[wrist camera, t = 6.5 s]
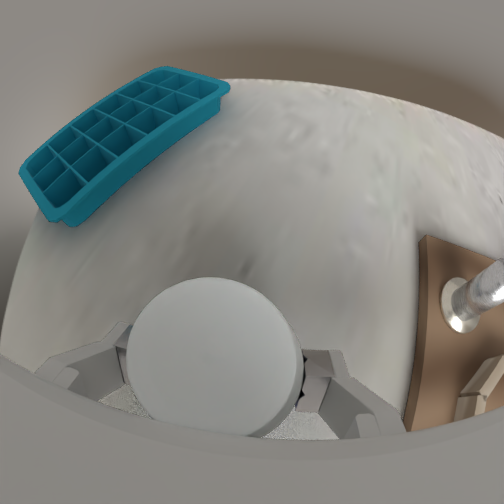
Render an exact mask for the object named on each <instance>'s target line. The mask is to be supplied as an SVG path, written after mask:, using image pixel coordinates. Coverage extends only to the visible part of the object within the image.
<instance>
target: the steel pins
mask: <svg viewBox="0 0 504 504" xmlns="http://www.w3.org/2000/svg"><path fill="white" fill-rule="evenodd" d="M503 302H504V259H503V258H500V259H498V260H497V261H496V262H494V263H493V264H492V265H490V266H489V267H488V268H486V269H485V270H483V271H482V272H481V273H479V274H478V275H476V276H475V277H474V278H472V279H471V280H469V281H467V280H465V279H463V278H459V277H456V278H452V279H451V280H449V281H448V282H447V283H445V285H444V286H443V288H442V290H441V293H440V298H439V305H440V311H441V315H442V317H443V320H444V322H445V323H446V325H447V326H448V327H449V328H450V329H451V330H452V331H453V332H455V333H457V334H466V333H468V332H471V331H472V330H473V329H475V327H476V326H477V324H478V322H479V319H480V314H482V313H484V312H486V311H488V310H490V309H492V308H494V307H496V306H497V305H499V304H501V303H503Z"/></svg>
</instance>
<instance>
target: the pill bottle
mask: <svg viewBox="0 0 504 504" xmlns="http://www.w3.org/2000/svg"><path fill="white" fill-rule="evenodd" d="M126 364H127V373H128V378H129V382H130V385H131V388H132V390H133V392H134V394H135V396H136V398H137V400H138V402H139V403H140V405H141V406H142V408H143V409H144V410H145V411H146V413H147V414H148V415H149V416H150V417H151V418H152V419H154V420H158V421H162V422H166V423H170V424H174V425H179V426H183V427H188V428H193V429H198V430H204V431H210V432H216V433H223V434H230V435H238V436H246V437H256V438H261V437H263V436H265V435H267V434H268V433H270V432H271V431H273V430H274V429H275V428H276V427H278V426H279V425H280V424H281V423H282V422H283V421H284V420H285V418H286V417H287V416H288V415H289V413H290V412H291V410H292V409H293V407H294V405H295V403H296V401H297V399H298V397H299V394H300V391H301V387H302V383H303V375H304V363H303V356H302V351H301V347H300V344H299V341H298V339H297V336H296V334H295V333H294V331H293V329H292V327H291V326H290V324H289V323H288V322H287V320H286V319H285V318H284V316H283V315H282V314H281V312H280V311H279V310H278V308H277V307H276V306H275V305H274V304H273V303H272V302H271V301H270V300H269V299H268V298H267V297H265V296H264V295H263V294H261V293H260V292H259V291H257V290H256V289H254V288H252V287H250V286H248V285H245V284H243V283H240V282H238V281H234V280H230V279H225V278H218V277H201V278H195V279H190V280H186V281H183V282H180V283H178V284H175V285H173V286H171V287H169V288H167V289H165V290H164V291H162V292H161V293H160V294H158V295H157V296H156V297H154V298H153V299H152V300H151V301H150V302H149V303H148V304H147V305H146V306H145V307H144V309H143V310H142V311H141V313H140V314H139V316H138V318H137V319H136V321H135V323H134V325H133V327H132V330H131V332H130V335H129V340H128V344H127V353H126Z"/></svg>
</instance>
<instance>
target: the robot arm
mask: <svg viewBox="0 0 504 504" xmlns="http://www.w3.org/2000/svg"><path fill="white" fill-rule="evenodd" d="M133 325H134V324H130V323H125V322H118V323H117V324H116V326H115V327H114V328H113V329H112V330H111V331H110V332H109V333H108V335H107V336H106V337H105V338H104V339H103V340H102V341H101V342H95V343H92V344H89V345H86V346H83V347H80V348H77V349H74V350H71V351H68V352H65V353H62V354H59V355H56V356H53V357H50V358H49V359H48V360H47V361H46V362H45V363H44V364H43V365H42V366H41V367H40V368H39V369H38V370H37V371H36V372H35V373H32V372H31V371H29V370H27V369H25V368H23V367H21V366H20V365H18V364H16V363H15V362H13V361H11V360H9V359H8V358H6V357H5V356H3V355H1V354H0V504H504V406H501V407H499V408H496V409H494V410H491V411H488V412H485V413H482V414H479V415H476V416H473V417H470V418H466V419H463V420H459V421H456V422H452V423H448V424H444V425H440V426H435V427H431V428H426V429H421V430H416V431H410V432H406V429H405V427H404V424H403V422H402V419H401V417H400V414H399V412H398V410H397V409H395V408H394V407H393V406H391V405H390V404H389V403H387V402H386V401H384V400H383V399H382V398H380V397H379V396H378V395H376V394H375V393H374V392H372V391H371V390H370V389H368V388H367V387H366V386H364V385H363V384H362V383H360V382H359V381H358V380H356V379H355V378H350V375H349V372H348V369H347V366H346V363H345V360H344V357H343V354H342V351H340V350H308V349H301V351H302V356H303V363H304V375H303V383H302V387H301V391H300V394H299V397H298V399H297V401H296V403H295V410H296V411H297V412H318V414H319V415H320V416H321V418H322V419H323V420H324V421H325V422H326V423H327V425H328V426H329V427H330V428H331V429H332V431H333V432H334V433H335V434H336V435H337V436H338V438H339V439H336V440H287V439H269V438H256V437H246V436H238V435H230V434H223V433H216V432H210V431H204V430H198V429H193V428H188V427H183V426H179V425H174V424H170V423H166V422H162V421H158V420H154V419H150V418H146V417H143V416H139V415H136V414H133V413H129V412H126V411H123V410H120V409H117V408H114V407H111V406H108V405H105V404H102V403H100V402H97V401H98V400H100V399H102V398H103V397H105V396H107V395H108V394H110V393H112V392H113V391H115V390H116V389H118V388H120V387H121V386H123V385H124V384H128V385H130V382H129V378H128V373H127V364H126V353H127V344H128V340H129V335H130V332H131V330H132V327H133Z"/></svg>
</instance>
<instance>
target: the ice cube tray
mask: <svg viewBox="0 0 504 504" xmlns="http://www.w3.org/2000/svg"><path fill="white" fill-rule="evenodd" d="M229 91H230V85H229V84H228V82H225V81H222V80H218V79H215V78H212V77H208V76H205V75H201V74H197V73H193V72H190V71H186V70H182V69H178V68H173V67H169V66H164V67H159V68H155V69H153V70H151V71H149V72H147V73H145V74H143V75H141V76H140V77H138V78H136V79H134V80H133V81H131V82H129V83H127V84H126V85H124V86H122V87H121V88H119V89H117V90H116V91H114V92H113V93H111V94H109V95H108V96H106V97H105V98H103V99H102V100H100V101H99V102H97V103H96V104H94V105H93V106H91V107H90V108H89V109H87V110H86V111H84V112H83V113H82V114H80V115H79V116H77V117H76V118H75V119H73V120H72V121H71V122H69V123H68V124H67V125H66V126H64V127H63V128H62V129H61V130H59V131H58V132H57V133H56V134H54V135H53V136H52V137H51V138H50V139H49V140H47V141H46V142H45V143H44V144H43V145H42V146H41V147H39V148H38V149H37V150H36V151H35V152H34V153H33V154H32V155H31V156H29V157H28V158H27V159H26V160H25V162H24V163H23V164H22V166H21V167H20V170H19V175H20V177H21V179H22V180H23V182H24V184H25V185H26V187H27V189H28V190H29V192H30V194H31V195H32V197H33V198H34V200H35V202H36V203H37V205H38V206H39V208H40V209H41V211H42V212H43V214H44V215H45V217H46V218H47V220H48V221H49V222H59V221H60V220H63V221H64V222H65V223H66V224H67V225H68V226H69V227H75V226H78V225H79V224H81V223H82V222H84V221H85V220H86V219H87V218H88V217H89V216H90V215H91V214H92V213H93V212H94V211H95V210H96V209H97V208H98V207H100V206H101V205H102V204H103V203H104V202H105V201H106V200H107V199H108V198H109V197H110V196H111V195H112V194H114V193H115V192H116V191H117V190H118V189H119V188H120V187H121V186H122V185H124V184H125V183H126V182H127V181H128V180H129V179H131V178H132V177H133V176H134V175H135V174H136V173H138V172H139V171H140V170H141V169H142V168H144V167H145V166H146V165H147V164H149V163H150V162H151V161H152V160H154V159H155V158H156V157H157V156H159V155H160V154H161V153H163V152H164V151H165V150H166V149H168V148H169V147H170V146H172V145H173V144H174V143H176V142H177V141H178V140H180V139H181V138H183V137H184V136H185V135H187V134H188V133H189V132H191V131H192V130H194V129H195V128H197V127H198V126H200V125H201V124H202V123H204V122H205V121H207V120H208V119H210V118H211V117H213V116H214V115H216V114H217V113H218V112H219V111H220V99H221V96H223V95H225V94H227V93H228V92H229Z"/></svg>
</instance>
